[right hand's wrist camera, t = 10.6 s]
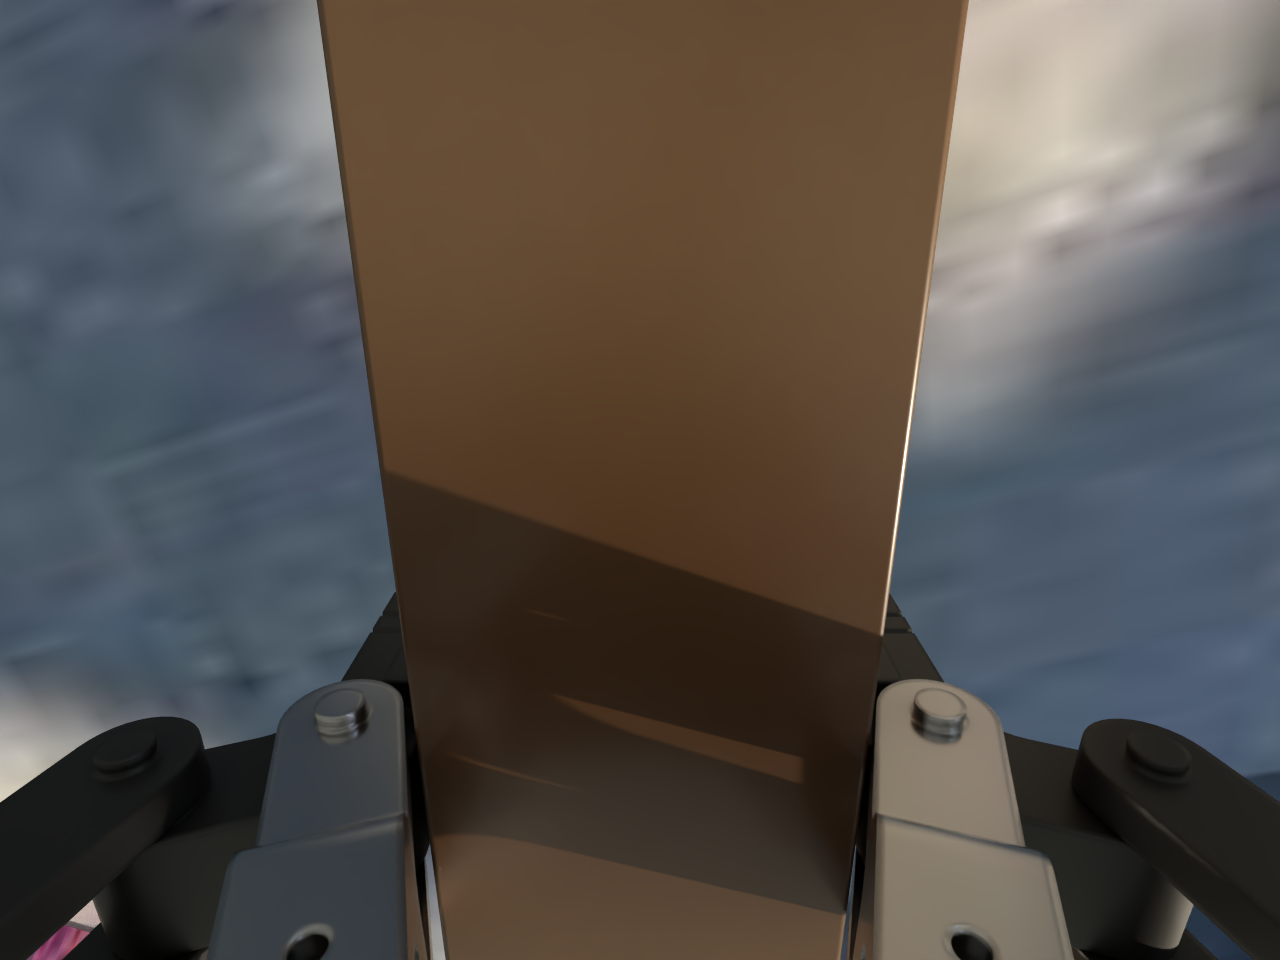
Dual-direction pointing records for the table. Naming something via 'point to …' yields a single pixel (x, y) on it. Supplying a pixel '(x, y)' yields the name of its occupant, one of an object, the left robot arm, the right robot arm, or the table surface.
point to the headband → (59, 944)
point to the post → (642, 440)
